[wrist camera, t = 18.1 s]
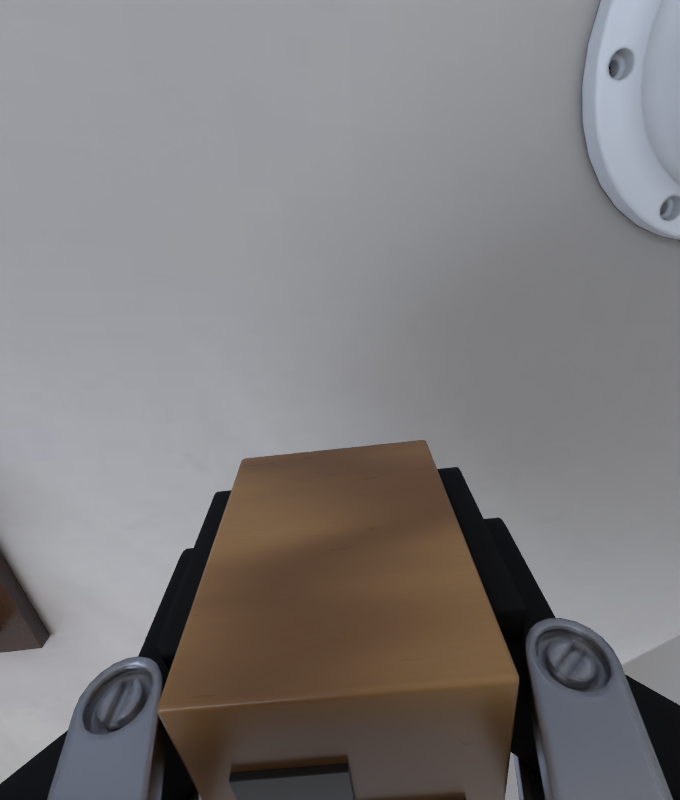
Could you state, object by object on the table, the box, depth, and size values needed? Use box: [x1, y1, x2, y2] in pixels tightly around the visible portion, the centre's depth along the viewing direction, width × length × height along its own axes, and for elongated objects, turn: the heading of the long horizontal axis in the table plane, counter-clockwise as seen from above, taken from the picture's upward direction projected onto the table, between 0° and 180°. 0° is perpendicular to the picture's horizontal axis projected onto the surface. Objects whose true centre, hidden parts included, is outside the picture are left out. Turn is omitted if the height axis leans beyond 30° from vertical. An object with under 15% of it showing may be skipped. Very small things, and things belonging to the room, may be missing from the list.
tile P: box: [158, 440, 519, 800], centre depth 8 cm, size 4×4×6 cm
